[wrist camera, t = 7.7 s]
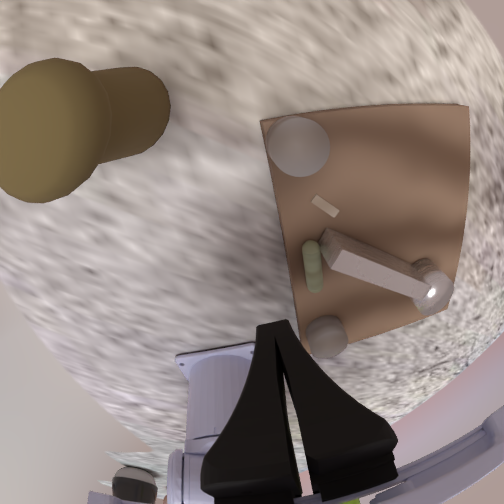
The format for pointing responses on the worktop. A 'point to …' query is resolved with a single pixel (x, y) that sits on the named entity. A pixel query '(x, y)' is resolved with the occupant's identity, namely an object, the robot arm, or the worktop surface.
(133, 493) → the black rounded dome
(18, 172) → the cork
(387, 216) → the brown latch board
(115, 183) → the worktop surface
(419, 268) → the lever handle
